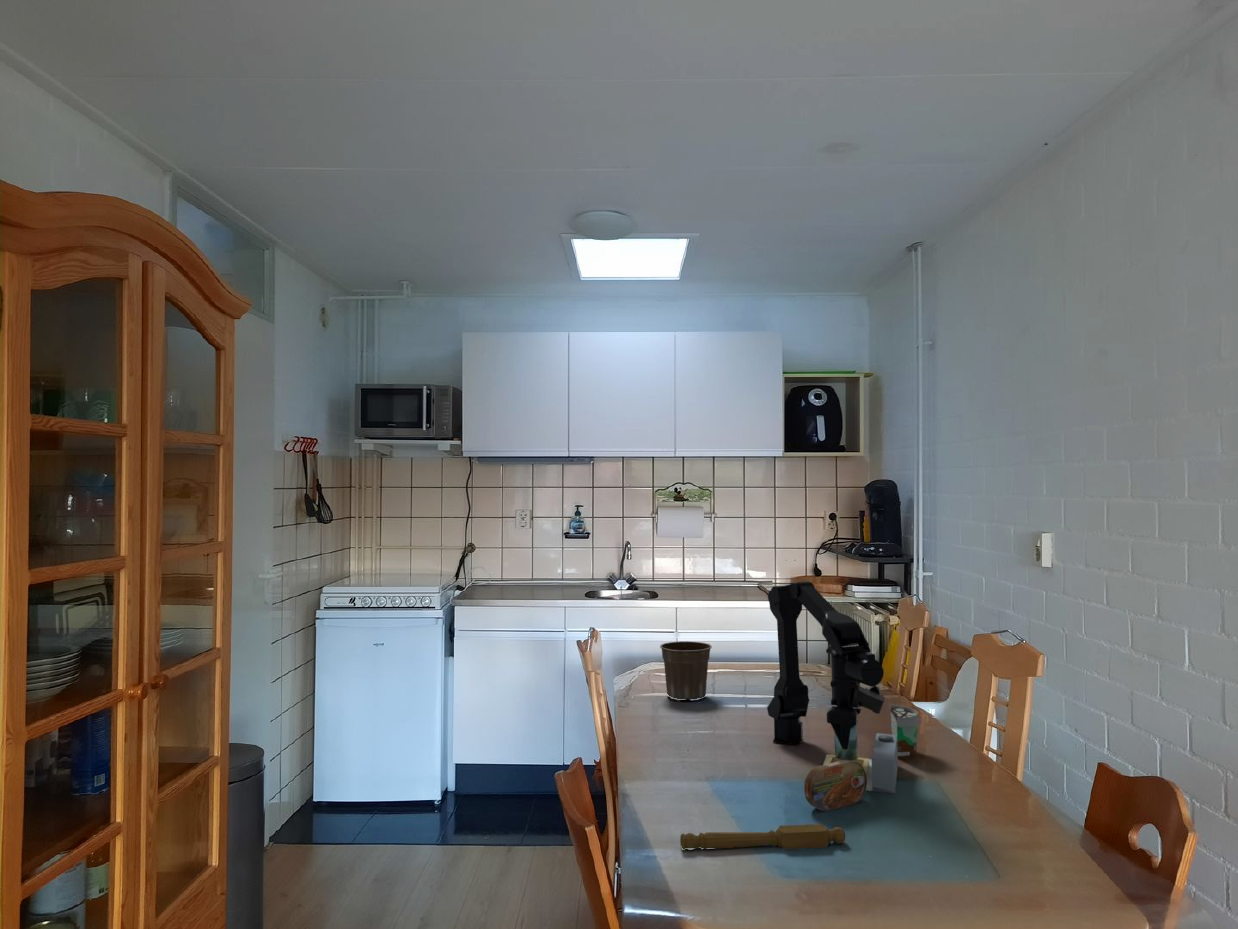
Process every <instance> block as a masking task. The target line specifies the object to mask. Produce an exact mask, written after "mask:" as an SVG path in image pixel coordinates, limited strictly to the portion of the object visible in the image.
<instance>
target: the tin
mask: <svg viewBox="0 0 1238 929" xmlns="http://www.w3.org/2000/svg"><path fill="white" fill-rule="evenodd" d="M866 786H867V777H866V773H865V770H864V768H863V767H862V766H861V765H860V764H859V763H857V762H852V761H849V760H841V761H837V762H833V763H829V764H825V765H823V764H822V765H818V766H815V767H813V768H812V769H810V770H809V772H808V773H807V775H806V776H805V780H804V786H803V787H804V796H805V799H806V801H807V803H808V804H809V805H810V806H812V807H813V808H815V809H818V810H819V811H821V812H823V813H824V812H830V811H829V810H831V811H834V810H837V809H840V808H844V807H848V806H851V805H855V804H857V803H858V802H859V801H861V800H862V799H863V797H864V795H865V793H866V791H867V790H866ZM833 809H834V810H833Z"/></svg>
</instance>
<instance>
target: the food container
mask: <svg viewBox="0 0 1238 929" xmlns="http://www.w3.org/2000/svg"><path fill="white" fill-rule="evenodd" d="M889 713H890V715H889V716H890V717H889V718H890V735H897V759H898V760H907V759H908V760H909V759H913V758H915V757H916V756H917V750H918V725H920V724H921V719H920V718H921V717H920V715H919V712H918V711H917V710H915V709H913V708H911V707H908V706H903V705H897V704H895V705H894V704H889Z"/></svg>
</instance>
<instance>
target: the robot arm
mask: <svg viewBox="0 0 1238 929" xmlns="http://www.w3.org/2000/svg"><path fill="white" fill-rule="evenodd" d="M767 598H768V599H767V600H768V603H769V610H770V612H771V613H772V614H773V617H774V618H775V619H776V625H777V626H776V627H777V646H778V663H779V664H778V666H779V678H778V679H777V681H776V683H775V685H774V688H773V698H772V699H771V701H770V702H769V703H768V705H767V708H766V710H767V714H768V715H767V716H769V717H770V718H773V724H774V725H773V727H774V728H773V729H774V733H773V735H774V738H773V739H772V742H773V743H775V742H777V743H778V744H784V743H785V744H787V745H794V746H798V745H800V742H801V741H802V740H803V738H804V730H803V729H804V725H803V721H801V718H802V717H803V718H804V717H806V718H807V714H808V713H807V712H808V708H809V702H810V698H809V687H808V685H807V684H804V682H803V681H802V679H801V676H800V663H799V643H798V626H797V624H798V622H797V620H798V619H799V617H800V615H801V612H802V611H803V607H804V608H805V610H807V611H808V612H809V613H810V614H811V616H812V617H814V619H815V620H816V622H818V623H819V625H820V626H821V635H822V636H823V637H824V639H825V640H826V641H827V643H828V645H830V646H829V647H827V649H825V653H827V654H830V659H831V661H830V666H831V667H830V668H831V673H830V674H831V681H830V687H831V699H830V705H831V707H830V708H829V709H828V710H827V712H826V723H828V724H830V725H831V728H832V729H833V731H835V733H836V736H837V738H838V740H839V742H840V745H841V747H842V749H846V750H847V749H848V744H849V738H850V731H851V728H852V727H853V726H854V725H856V724H857V725H858V721H859V719H858V716H859V714H860V713H861V711H862V709H861V708H862V707H863V708H866V709H868V710H870V711H872V713H874V714H878V715H879V714H880V713H881V711H882V708H883V705H884V702H885V700H886V696H884V694H881V690H880V687H879V686H878V685H879V684H880V683H881V682H882V680H883V677H884V674H885V673H884V669H883V668H884V667H883V666H882V664H881V663H880V661H879V660H877V659H876V653H872V652H871V651H872V650H871V648H870V644H869V642H868V641H867V639H866V636H865V634H864V632H863V630H862V628H861V626H860V624H859V623H858V622H857V621H856V620H855V619H854V618H852V617H851V616H849V615H847V614H844V613H842V612H839V611H837V610H836V609H835V608H834V607H833V605H832V604H831V603H830V602H828V600H827V599H826V598H825V597H824V596H823V595H822V594H821V593H820V592H819V591H818V590H817V589H816V588H815V585H814V583H813V582H812V581H809V580H805V581H803V580H802V581H795V582H792V583H790V584H787V585H775V586H772V588H771V589H770V590H769V591H768V593H767ZM861 684H862V685H866V686H868V687H869V688H867V687H863V686H861ZM860 707H861V708H860ZM777 743H776V744H777Z"/></svg>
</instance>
